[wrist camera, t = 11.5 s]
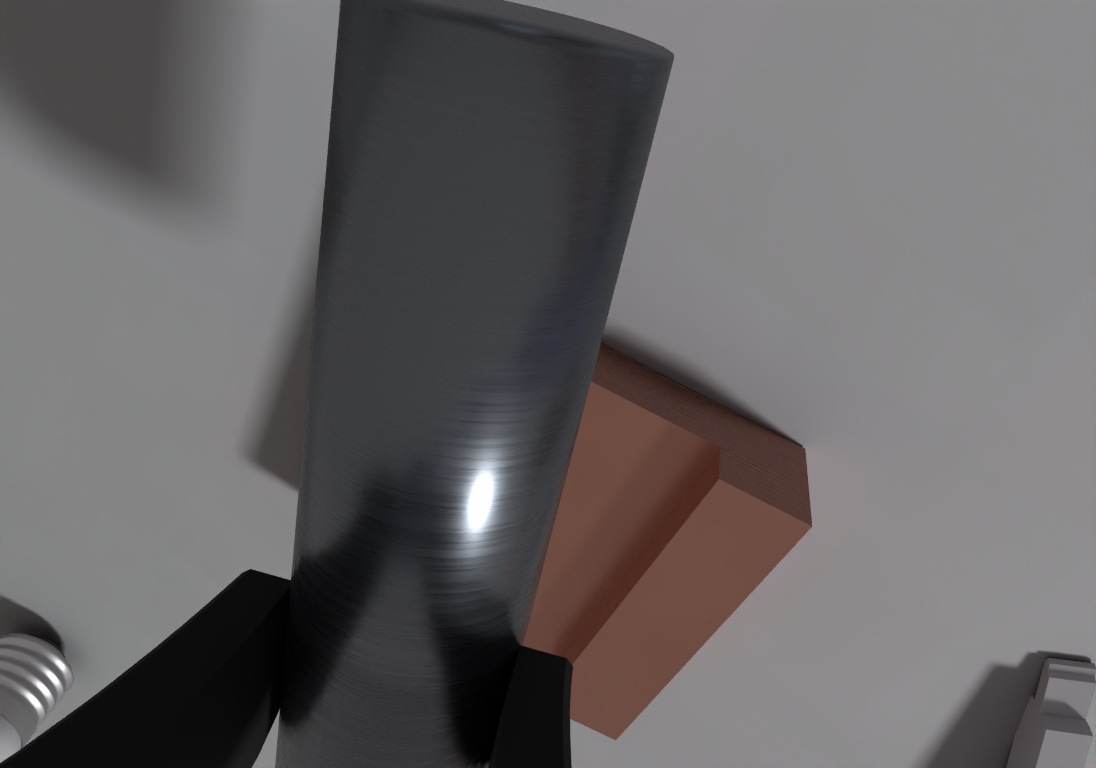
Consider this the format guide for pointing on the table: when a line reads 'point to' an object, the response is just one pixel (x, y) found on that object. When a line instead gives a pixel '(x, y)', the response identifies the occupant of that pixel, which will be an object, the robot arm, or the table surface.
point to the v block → (658, 535)
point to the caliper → (1056, 718)
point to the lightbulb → (28, 687)
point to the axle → (450, 360)
